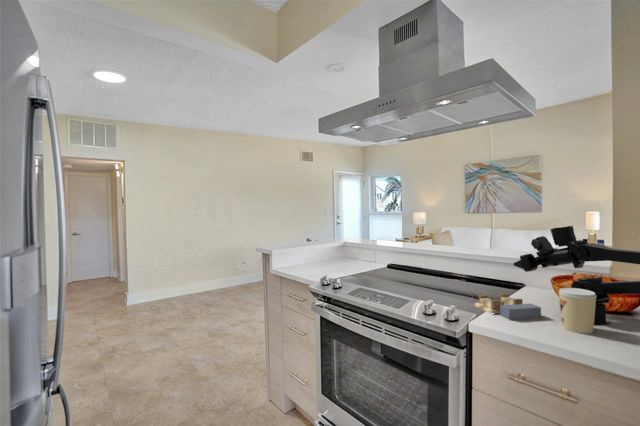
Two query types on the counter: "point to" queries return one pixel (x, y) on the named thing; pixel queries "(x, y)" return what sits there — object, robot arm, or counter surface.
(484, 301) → the display stand
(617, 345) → the counter surface
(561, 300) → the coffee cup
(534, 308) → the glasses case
